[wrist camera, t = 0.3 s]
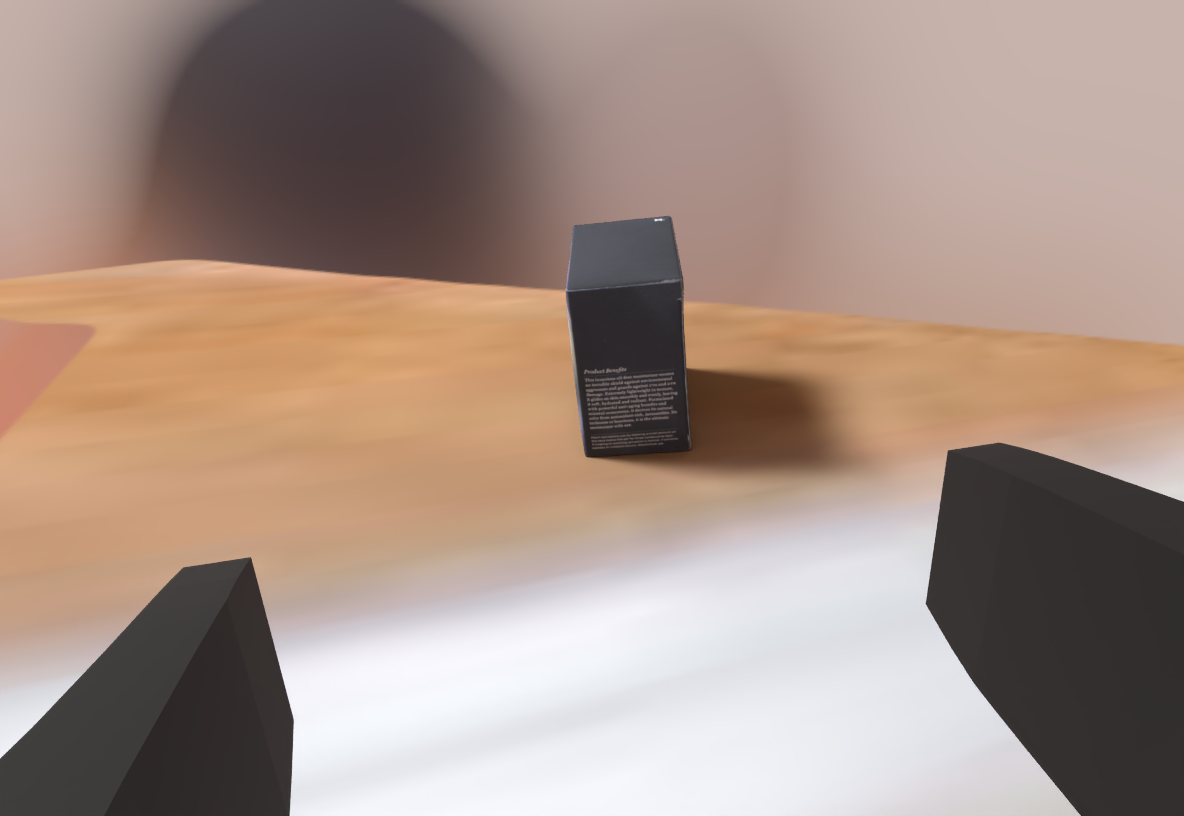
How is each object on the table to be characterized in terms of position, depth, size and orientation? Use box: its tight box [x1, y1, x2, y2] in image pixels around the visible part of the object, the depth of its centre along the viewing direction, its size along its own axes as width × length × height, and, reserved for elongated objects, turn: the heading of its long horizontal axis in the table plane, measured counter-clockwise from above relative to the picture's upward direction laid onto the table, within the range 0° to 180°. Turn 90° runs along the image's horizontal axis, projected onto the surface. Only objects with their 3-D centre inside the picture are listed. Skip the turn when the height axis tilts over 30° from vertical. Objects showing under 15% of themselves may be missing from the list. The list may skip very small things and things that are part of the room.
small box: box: [566, 216, 692, 457], centre depth 52 cm, size 11×6×10 cm, turn 179°
